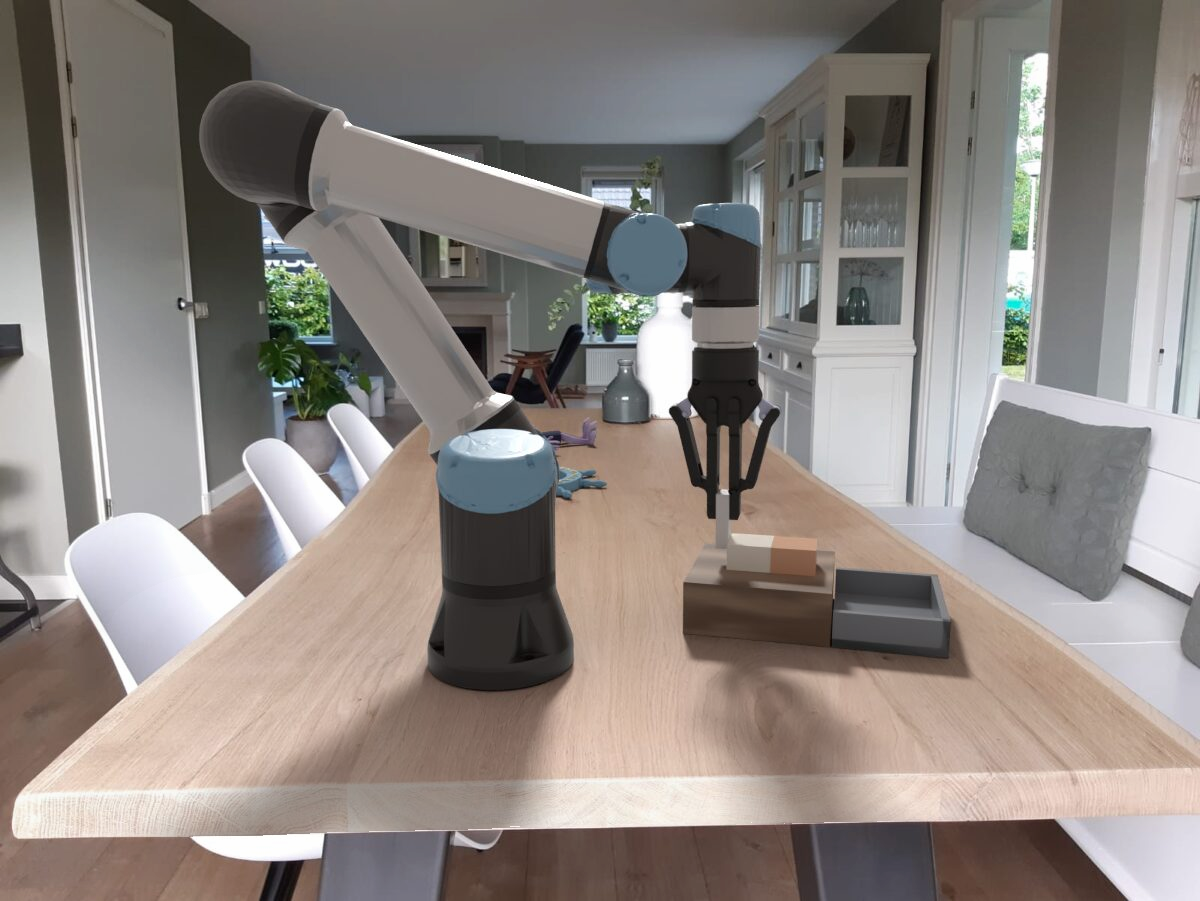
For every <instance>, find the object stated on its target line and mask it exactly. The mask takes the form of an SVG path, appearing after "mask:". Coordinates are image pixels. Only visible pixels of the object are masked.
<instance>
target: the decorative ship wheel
mask: <svg viewBox="0 0 1200 901" xmlns="http://www.w3.org/2000/svg"><path fill="white" fill-rule="evenodd" d="M596 473H597V471H596V470H594V469H587V470H584V471H583V470H581V469H577V470H576V469H573V468H572V467H571V468H569V467H564V466H559V483H558V489H557V494H556V496H558V497H561V496H562V497H564V498H565V499H570V498H572V497H573V493H572V492H573V491H576V490H579V489H580V488H589V487H595V488H598V489H599V488H600V489H601V488H604V487H606V486H607V485H608V483H607V482H606V481H604V480H602V479H598V480H597V479H596V480H590V479H589V478H584V477H593V476H594V475H596Z"/></svg>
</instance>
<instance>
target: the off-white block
mask: <svg viewBox="0 0 1200 901" xmlns="http://www.w3.org/2000/svg"><path fill="white" fill-rule="evenodd" d="M774 536H775V535H768V534H767V535H765V534H752V533H751V534H750V533H748V534H747V533H736V532H731V537H730V539H729V541H728V543H727V564H726V570H737V571H751V572H765V573H770V564H771V546H772V542H773V539H774Z"/></svg>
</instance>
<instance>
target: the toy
mask: <svg viewBox="0 0 1200 901" xmlns="http://www.w3.org/2000/svg"><path fill="white" fill-rule="evenodd" d="M530 423H531V424H532V426H533V427H534V428H536V425H534V424H533V422H530ZM597 423H598V421H597V420H594V421H592V420H591V418H590V416H588V417H587V418H585V419H584V420H583V421H582V424H581V432H582V436H575V435H572V434H568V433H565V432H563V431H560V430H551V431H550V430H549V431H542V432H541V431H540V432H541V434H542V435H543V436H545V437H546V438H547V439H548V441H549V442H550V444H551V445H552V447H553V449H554V451H556V452H557V451H559V449H558V448H561V447H562V446H561V445H560V444H561V443H562V442H563V443H566V444H569V445H583V446H584V445H588V446H589V445H590V446H593V445H594V444H595V441H596V438H597V433H598V429H597V427H598V426H597V425H598V424H597Z"/></svg>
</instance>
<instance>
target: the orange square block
mask: <svg viewBox="0 0 1200 901" xmlns="http://www.w3.org/2000/svg"><path fill="white" fill-rule="evenodd" d="M773 536H774V539H773V542H772V546H771V564H770V573H775V574H789V575H803V576H815V574H816V566H817V550H818V538H811V537H810V538H809V537H796V536H781V535H779V536H777V535H773Z"/></svg>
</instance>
